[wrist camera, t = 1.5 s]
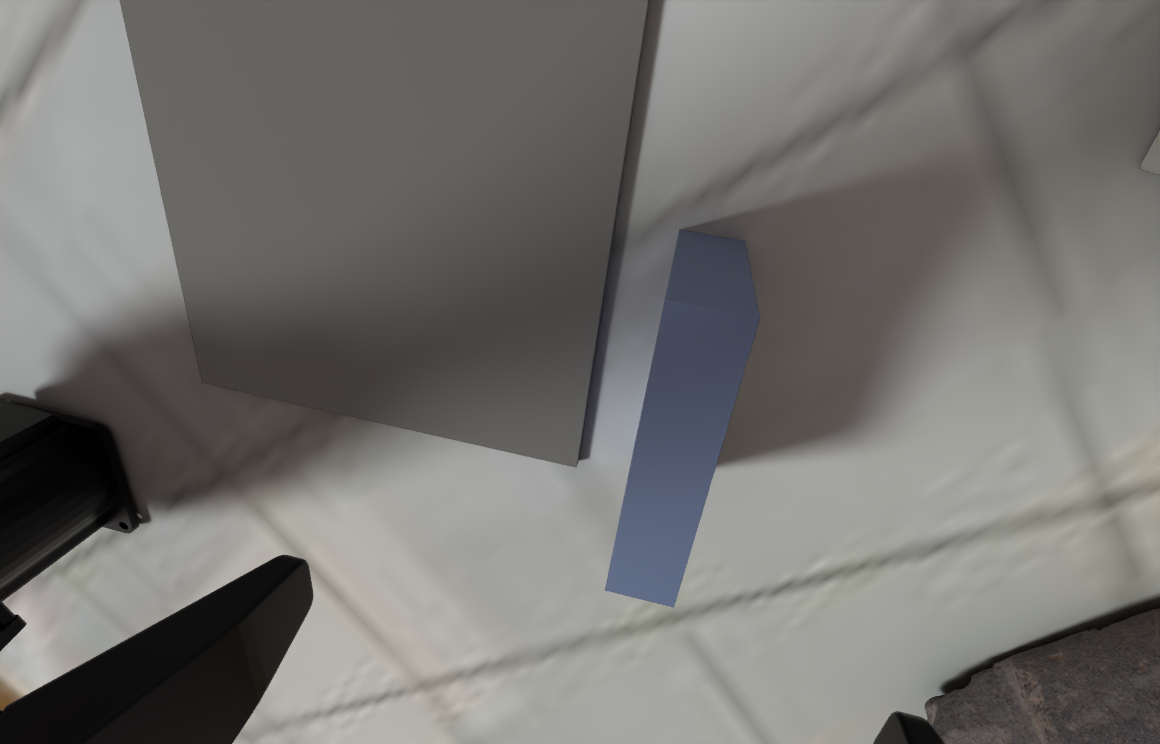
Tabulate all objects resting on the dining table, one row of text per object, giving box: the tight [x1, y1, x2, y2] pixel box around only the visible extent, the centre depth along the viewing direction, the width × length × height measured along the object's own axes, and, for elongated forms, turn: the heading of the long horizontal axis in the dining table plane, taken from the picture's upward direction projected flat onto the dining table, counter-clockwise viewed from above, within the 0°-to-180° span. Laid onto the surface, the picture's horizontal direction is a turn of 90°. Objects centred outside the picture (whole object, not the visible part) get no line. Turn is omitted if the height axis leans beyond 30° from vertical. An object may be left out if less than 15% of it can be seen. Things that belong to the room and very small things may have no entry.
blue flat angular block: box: [605, 230, 760, 607], centre depth 17 cm, size 9×2×6 cm, turn 172°
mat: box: [120, 0, 650, 467], centre depth 19 cm, size 18×16×1 cm
